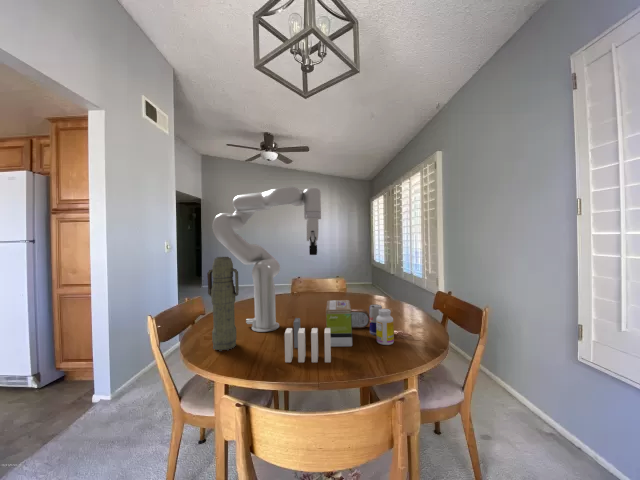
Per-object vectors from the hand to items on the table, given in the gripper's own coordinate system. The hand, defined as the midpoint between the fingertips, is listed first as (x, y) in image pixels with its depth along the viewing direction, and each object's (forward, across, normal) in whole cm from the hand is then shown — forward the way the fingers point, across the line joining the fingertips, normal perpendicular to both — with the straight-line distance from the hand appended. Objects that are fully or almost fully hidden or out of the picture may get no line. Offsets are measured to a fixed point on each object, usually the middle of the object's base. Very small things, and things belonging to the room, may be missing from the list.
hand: (313, 254), depth 127 cm
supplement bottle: (+35, +16, +28) cm, 47 cm away
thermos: (+34, +18, -35) cm, 52 cm away
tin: (+35, -2, +18) cm, 39 cm away
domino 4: (+34, +30, 0) cm, 46 cm away
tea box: (+35, +12, +10) cm, 38 cm away
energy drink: (+35, +6, +26) cm, 44 cm away
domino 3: (+34, +30, -4) cm, 46 cm away
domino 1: (+34, +30, -8) cm, 46 cm away
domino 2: (+34, +18, -7) cm, 39 cm away
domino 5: (+34, +30, +5) cm, 46 cm away
